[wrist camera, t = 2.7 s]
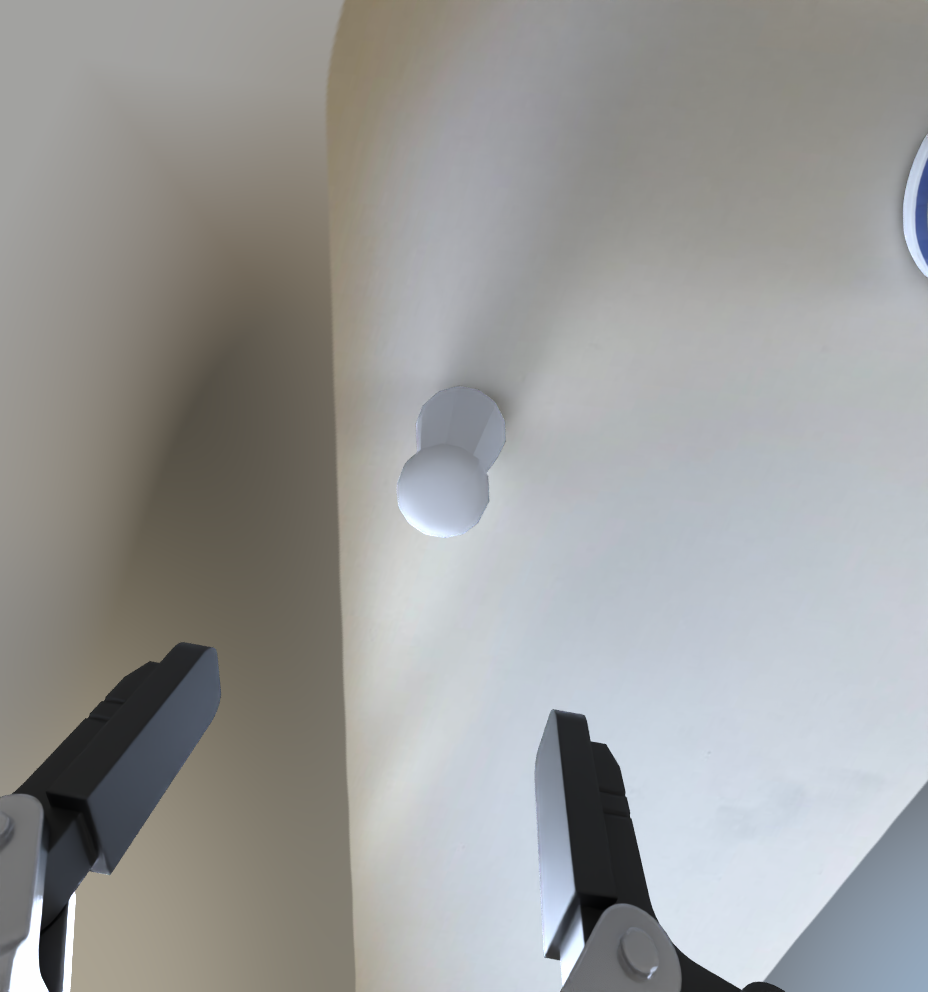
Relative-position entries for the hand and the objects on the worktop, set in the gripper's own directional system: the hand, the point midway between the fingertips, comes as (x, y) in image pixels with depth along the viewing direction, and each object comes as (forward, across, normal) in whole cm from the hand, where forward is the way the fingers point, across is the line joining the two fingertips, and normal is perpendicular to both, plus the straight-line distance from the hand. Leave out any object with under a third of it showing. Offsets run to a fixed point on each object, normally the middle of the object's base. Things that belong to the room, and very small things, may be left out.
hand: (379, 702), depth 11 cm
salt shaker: (+24, 0, 0) cm, 24 cm away
